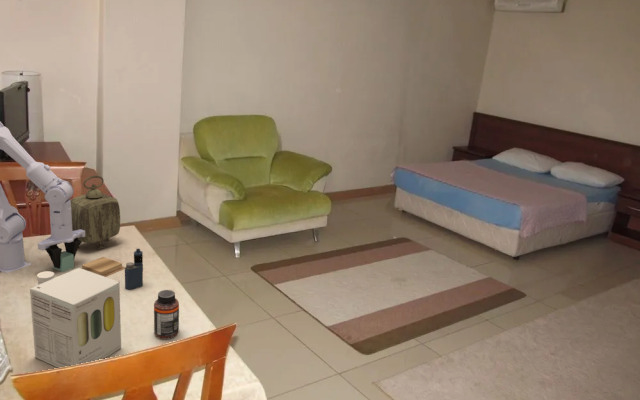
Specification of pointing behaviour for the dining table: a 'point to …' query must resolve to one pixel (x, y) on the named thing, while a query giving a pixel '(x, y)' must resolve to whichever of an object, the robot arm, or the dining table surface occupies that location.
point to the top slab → (102, 266)
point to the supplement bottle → (166, 315)
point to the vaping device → (134, 272)
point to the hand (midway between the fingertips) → (63, 264)
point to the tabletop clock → (95, 215)
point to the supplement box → (76, 318)
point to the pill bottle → (44, 277)
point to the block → (66, 261)
